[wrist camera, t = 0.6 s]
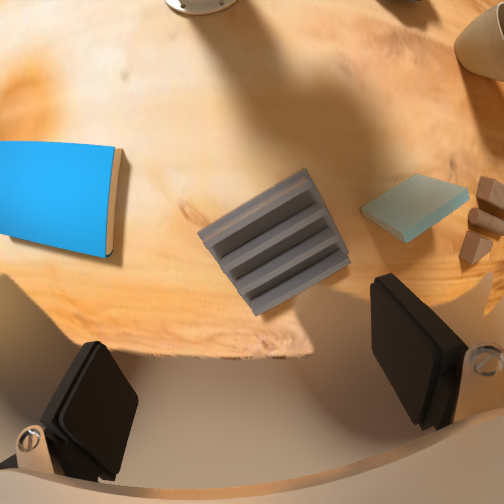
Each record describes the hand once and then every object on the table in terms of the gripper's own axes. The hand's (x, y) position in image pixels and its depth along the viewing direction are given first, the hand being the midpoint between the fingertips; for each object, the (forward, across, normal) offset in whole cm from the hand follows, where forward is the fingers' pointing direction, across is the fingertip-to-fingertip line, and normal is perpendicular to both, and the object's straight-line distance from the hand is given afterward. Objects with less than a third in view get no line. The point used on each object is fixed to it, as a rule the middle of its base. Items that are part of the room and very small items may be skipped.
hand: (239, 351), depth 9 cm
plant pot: (+34, -49, -19) cm, 62 cm away
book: (+35, +29, -9) cm, 46 cm away
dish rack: (+34, -4, +9) cm, 36 cm away
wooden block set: (+35, -50, +17) cm, 64 cm away
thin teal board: (+34, -24, +6) cm, 42 cm away
